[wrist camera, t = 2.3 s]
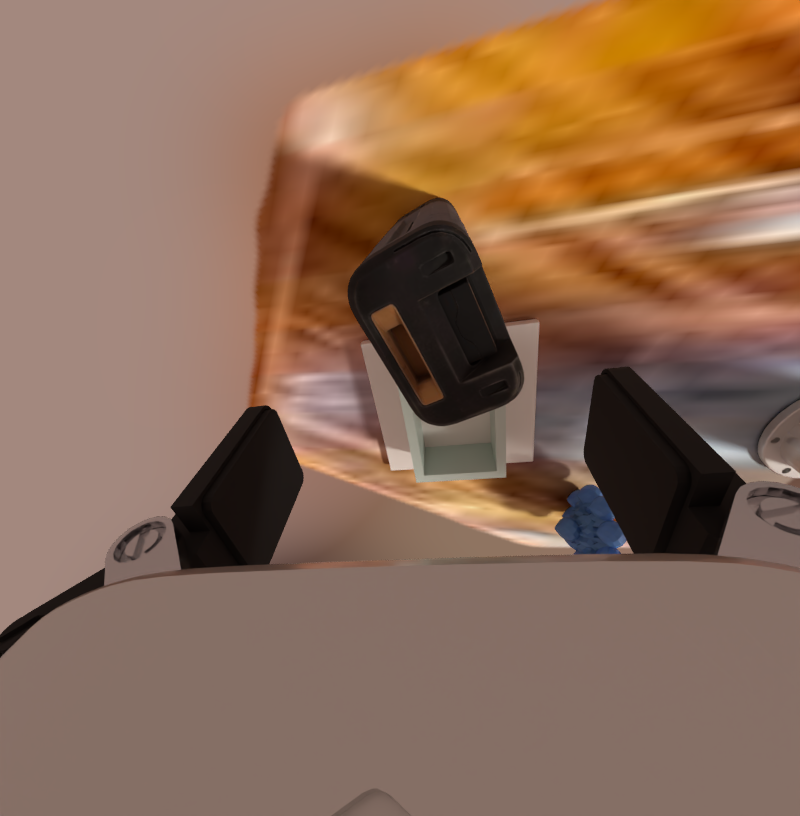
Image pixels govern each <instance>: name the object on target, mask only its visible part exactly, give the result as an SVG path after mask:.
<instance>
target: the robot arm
mask: <svg viewBox="0 0 800 816" xmlns="http://www.w3.org/2000/svg"><path fill="white" fill-rule="evenodd" d="M758 455H759V457H760V460H761V461H762V462H763V463H764V464H765V465H766V466H767V467H768V468H770V469H771V470H772V471H773V472H775V473H777V474H779V475H782V476H786V477H790V478H800V400H798V401H797V402H795V403H793V404H791V405H790V406H789V407H787V408H786V409H785V410H783V411H782V412H780V413H779V414H778V415H777V416H776V417H775V418H774V419H773V420H772V421H771V422H770V423H769V425H768V426H767V427H766V428H765V430H764V432H763V433H762V435H761V437H760V440H759V443H758ZM584 459H585V462H586V464H587V466H588V468H589V470H590V472H591V474H592V476H593V478H594V479H595V481H596V483H597V485H598V487H599V489H600V491H601V493H602V495H603V496H604V498H605V500H606V502H607V504H608V506H609V508H610V510H611V511H612V513H613V515H614V517H615V519H616V521H617V523H618V525H619V527H620V528H621V530H622V532H623V534H624V536H625V538H626V540H627V542H628V544H629V545H630V547H631V549H632V551H633V553H634V554H575V555H540V556H506V557H505V556H503V557H467V558H437V559H436V558H435V559H404V560H378V561H377V560H375V561H347V562H346V561H345V562H320V563H293V564H269V563H270V561H271V559H272V556H273V554H274V551H275V549H276V546H277V544H278V541H279V539H280V537H281V534H282V532H283V530H284V527H285V525H286V522H287V520H288V517H289V515H290V513H291V510H292V508H293V505H294V503H295V501H296V498H297V495H298V493H299V491H300V488H301V486H302V484H303V472H302V469H301V467H300V464H299V462H298V460H297V457H296V455H295V453H294V450H293V448H292V446H291V444H290V441H289V439H288V437H287V434H286V432H285V430H284V427H283V425H282V423H281V420H280V418H279V416H278V414H277V412H276V411H275V410H274V409H271V408H270V407H269V406H267V405H266V406H257V407H249V408H248V409H246V411H245V412H244V413H243V415H242V416H241V417H240V418H239V420H238V421H237V422H236V424H235V425H234V426H233V428H232V429H231V430H230V431H229V433H228V434H227V435H226V436H225V438H224V439H223V440H222V442H221V443H220V444H219V445H218V447H217V448H216V449H215V451H214V452H213V453H212V454H211V456H210V457H209V458H208V460H207V461H206V462H205V464H204V465H203V466H202V467H201V469H200V470H199V471H198V473H197V474H196V475H195V476H194V478H193V479H192V480H191V481H190V483H189V484H188V485H187V487H186V488H185V489H184V490H183V492H182V493H181V494H180V496H179V497H178V498H177V499H176V501H175V502H174V503H173V505H172V506H171V508H172V510H173V511H174V512H175V516H174V517H173V518H172V520H171V519H170V518H167V517H165V516H161V517H160V516H157V517H153V518H149V519H147V520H144V521H142V522H140V523H138V524H136V525H134V526H133V527H131V528H129V529H128V530H127V531H126V532H125V533H124V534H122V535H121V536H120V537H119V538H118V539H117V540H116V541H115V542H114V543H113V545H112V546H111V547H110V549H109V551H108V553H107V556H106V561H105V568H104V569H102V570H100V571H99V572H97V573H95V574H94V575H92V576H90V577H88V578H87V579H85V580H83V581H82V582H80V583H78V584H77V585H75V586H73V587H71V588H70V589H68V590H66V591H65V592H63V593H61V594H60V595H58V596H57V597H55V598H53V599H51V600H49V601H48V602H46V603H45V604H43V605H41V606H39V607H38V608H36V609H34V610H33V611H31V612H29V613H28V614H26V615H25V616H23V617H21V618H19V619H18V620H16V621H15V622H13V623H12V624H11V625H9V627H7V628H6V629H5V630H4V631H3V632H2V634H1V635H0V816H800V488H797V487H794V486H791V485H786V484H782V483H778V482H766V481H758V482H750V483H747V484H746V483H745V482H744V481H743V480H742V479H741V478H740V477H739V476H738V475H737V474H736V471H735V470H734V469H733V468H732V467H731V466H730V465H729V464H728V463H727V462H726V461H725V460H724V459H723V458H722V457H721V456H720V455H718V454H717V453H716V452H715V451H714V450H713V449H712V448H711V447H710V446H709V445H708V444H707V443H706V442H705V441H704V440H703V439H702V438H701V437H700V436H699V435H698V434H697V433H696V432H695V431H694V430H693V429H692V428H691V427H690V426H689V425H688V424H687V423H686V422H685V421H684V420H683V419H682V418H681V417H680V416H679V415H678V414H677V413H676V412H675V411H674V410H673V409H672V408H671V407H670V406H669V405H668V404H667V403H666V402H665V401H664V400H663V399H662V398H661V397H660V396H659V395H658V394H657V393H656V392H655V391H654V390H653V389H652V388H650V387H649V386H648V385H647V384H646V383H645V382H644V381H643V380H642V379H641V378H640V377H639V376H638V375H637V374H636V373H635V372H634V371H633V370H632V369H631V368H630V367H619V368H610V369H604V370H603V371H602V373H601V375H597V376H596V377H595V379H594V385H593V392H592V398H591V405H590V412H589V419H588V425H587V432H586V439H585V446H584Z"/></svg>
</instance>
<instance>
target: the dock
mask: <svg viewBox="0 0 800 816" xmlns="http://www.w3.org/2000/svg"><path fill="white" fill-rule="evenodd" d="M505 325H506V328H507V331H508V333H509V336H510V338H511V340H512V343H513V345H514V347H515V349H516V352H517V354H518V356H519V359H520V361H521V364H522V367H523V371H524V384H523V387H522V390H521V391H520V393H519V395H518V396H517V397H516V398H515V399H514V400H512V401H511V402H509V403H508V404H506V405H504V406H502V407H500V408H497V409H494V410H492V411H489V412H486V413H484V414H481V415H478V416H475V417H473V418H470V419H467V420H465V421H462V422H459V423H456V424H453V425H449V426H435V425H430V424H428V423H426V422H424V421H422V420H421V419H420V418H419V417H418V416H417V415H416V414H415V413H414V412H413V410H412V409H411V407H410V406H409V404H408V402H407V401H406V399H405V398H404V396H403V394H402V393H401V391H400V389H399V388H398V386H397V385H396V383H395V381H394V380H393V378H392V376H391V375H390V373H389V371H388V370H387V368H386V367H385V365H384V363H383V362H382V360H381V358H380V357H379V355H378V354H377V352H376V350H375V349H374V347H373V345H372V344H371V342H370V340H366V341H362V343H361V348H362V353H363V357H364V361H365V365H366V369H367V373H368V377H369V381H370V385H371V390H372V394H373V398H374V402H375V406H376V410H377V414H378V418H379V422H380V426H381V431H382V435H383V439H384V443H385V447H386V451H387V455H388V459H389V463H390V467H391V470H406V469H414V472H415V477H416V482H435V481H452V480H470V479H487V478H505V477H506V463H516V462H532V461H533V453H534V431H535V409H536V387H537V365H538V343H539V321H538V319H531V320H523V321H515V322H507V323H505Z"/></svg>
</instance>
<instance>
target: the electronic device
mask: <svg viewBox="0 0 800 816" xmlns="http://www.w3.org/2000/svg"><path fill="white" fill-rule="evenodd" d="M348 300H349V304H350V307H351V310H352V312H353V313H354V315H355V317H356V319H357V321H358V323H359V324H360V326H361V327H362V329H363V331H364V332H365V334H366V336H367V337H368V339H369V340H370V342H371V344H372V345H373V347H374V349H375V350H376V352H377V354H378V355H379V357H380V358H381V360H382V362H383V363H384V365H385V367H386V368H387V370H388V371H389V373H390V375H391V376H392V378H393V380H394V381H395V383H396V385H397V386H398V388H399V389H400V391H401V393H402V394H403V396H404V398H405V399H406V401H407V402H408V404H409V406H410V407H411V409H412V410H413V412H414V413H415V414H416V415H417V416H418V417H419V418H420V419H421V420H422V421H424V422H426V423H428V424H430V425H435V426H449V425H453V424H456V423H459V422H462V421H465V420H467V419H470V418H473V417H475V416H478V415H481V414H484V413H486V412H489V411H492V410H494V409H497V408H500V407H502V406H504V405H506V404H508V403H509V402H511V401H512V400H514V399H515V398H516V397H517V396H518V395H519V393H520V391H521V390H522V387H523V384H524V371H523V367H522V364H521V361H520V359H519V356H518V354H517V352H516V349H515V347H514V345H513V343H512V340H511V338H510V336H509V333H508V331H507V328H506V325H505V323H504V320H503V318H502V315H501V313H500V310H499V308H498V305H497V303H496V300H495V298H494V295H493V293H492V290H491V288H490V285H489V283H488V280H487V278H486V275H485V273H484V270H483V268H482V263H481V260H480V258H479V256H478V253H477V251H476V249H475V247H474V245H473V243H472V241H471V239H470V237H469V236H468V233H467V231H466V229H465V227H464V225H463V223H462V222H461V220H460V218H459V216H458V214H457V212H456V210H455V208H454V206H453V205H452V204H451V203H450V202H449V201H448V200H446V199H444V198H434V199H432V200H430V201H428V202H426V203H424V204H423V205H421V206H419V207H418V208H416V209H414V210H413V211H411V212H409V213H408V214H406V215H405V216H403V217H402V218H400V219H399V220H398V221H397V223H396V224H395V225H394V226H393V227H392V228H391V230H389V231H388V232H387V234H386V235H385V236H384V237H383V238H382V239H381V241H380V242H379V243H378V244H377V245H376V246H375V247H374V249H373V250H372V252H371V253H370V254H369V255H368V256H367V258H366V259H365V260H364V261H363V262H362V264H361V265H360V266H359V267H358V268H357V269H356V271H355V272H354V274H353V275H352V277H351V279H350V282H349V285H348Z"/></svg>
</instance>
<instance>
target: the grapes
mask: <svg viewBox="0 0 800 816" xmlns="http://www.w3.org/2000/svg"><path fill="white" fill-rule="evenodd" d="M567 501H568V502H569V504H570V505H571V507H569V508H568V509H567V510H566V511H565V512H564V514H563V515H562V517H563V518H562V519H561V520H560V521H559V522H558V523H557V525H556V526H555V530H556V531H557V532H558V534H559V535H560V536H561V537H562V538H564V539H565V541H566V542H567V543H568V544H569V546H571V547H572V548H573V549H575V550H576V552H575V553H574V554H573V555H575V554H621V553H620V552H619V551H618V549H616V548H618V547H621V546H623V544H624V543H625V542H626V538H625V536H624V534H623V532H622V530H621V528H620V527H619V525H618V523H617V522H615V521H613V519H614V518H615V517H614V515H613V513H612V511H611V510H610V508H609V506H608V504H607V502H606V500H605V498H604V496H603V495H602V493H601V491H600V489H599V488H598V487H596V486H594V485H586V486H584V487H582V488H581V490H575V491H574V492H572V493H571V494H570V495H569V497H568V498H567Z"/></svg>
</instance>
